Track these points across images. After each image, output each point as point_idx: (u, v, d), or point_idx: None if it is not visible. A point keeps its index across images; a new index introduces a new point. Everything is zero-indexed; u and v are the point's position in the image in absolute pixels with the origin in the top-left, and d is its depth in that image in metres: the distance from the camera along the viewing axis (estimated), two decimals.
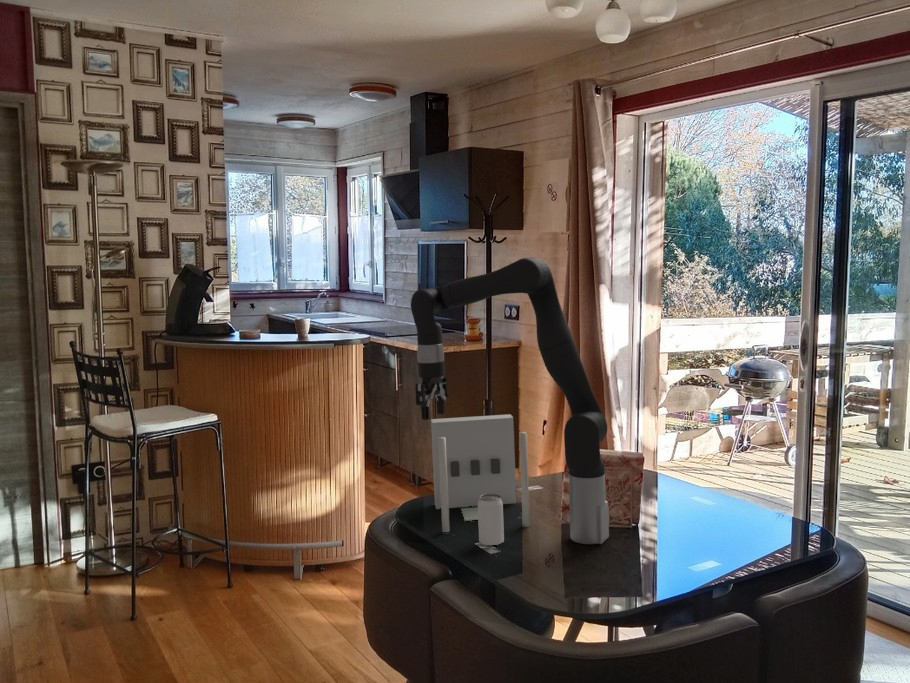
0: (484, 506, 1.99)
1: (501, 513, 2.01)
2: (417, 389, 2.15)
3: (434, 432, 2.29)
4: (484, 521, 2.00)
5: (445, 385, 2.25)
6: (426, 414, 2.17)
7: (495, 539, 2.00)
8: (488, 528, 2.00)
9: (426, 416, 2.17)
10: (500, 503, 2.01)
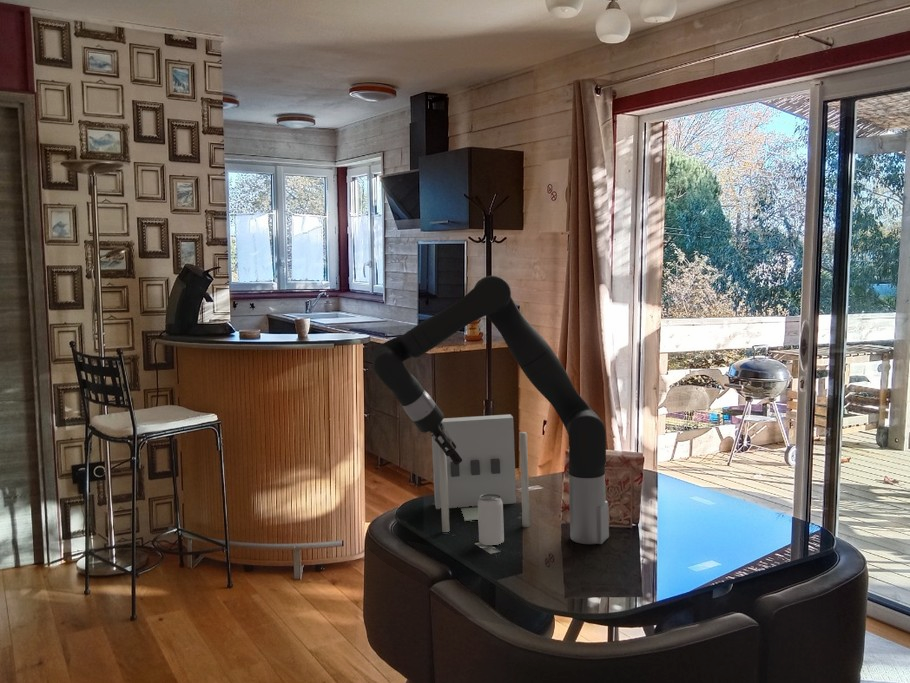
0: (484, 506, 1.99)
1: (501, 513, 2.01)
2: (440, 442, 1.99)
3: None
4: (484, 521, 2.00)
5: None
6: (458, 457, 2.03)
7: (495, 539, 2.00)
8: (488, 528, 2.00)
9: (459, 459, 2.03)
10: (500, 503, 2.01)
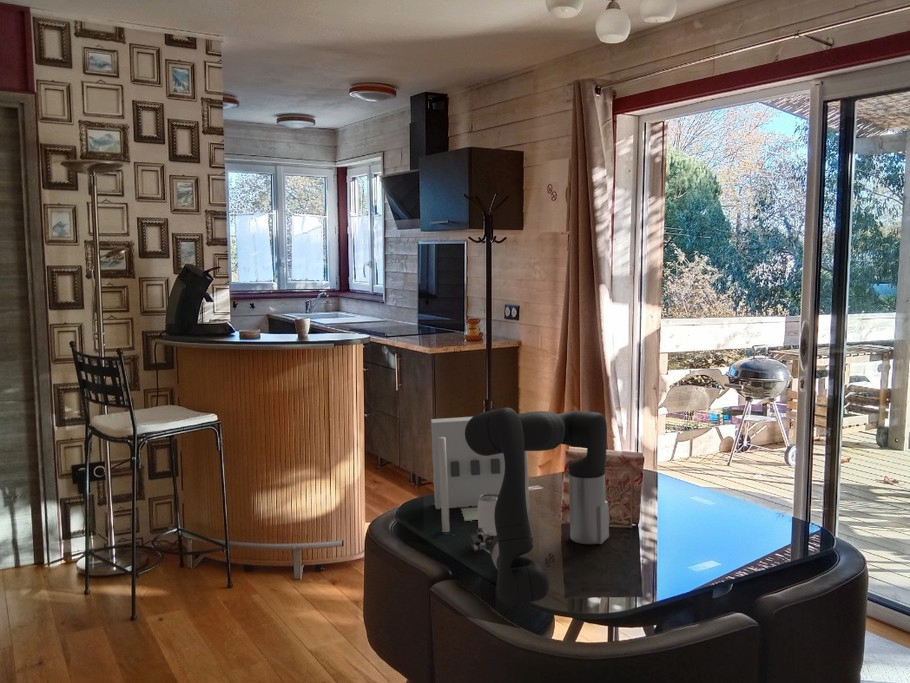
0: (484, 506, 1.99)
1: None
2: None
3: (434, 432, 2.29)
4: (484, 521, 2.00)
5: None
6: None
7: None
8: (488, 528, 2.00)
9: None
10: None
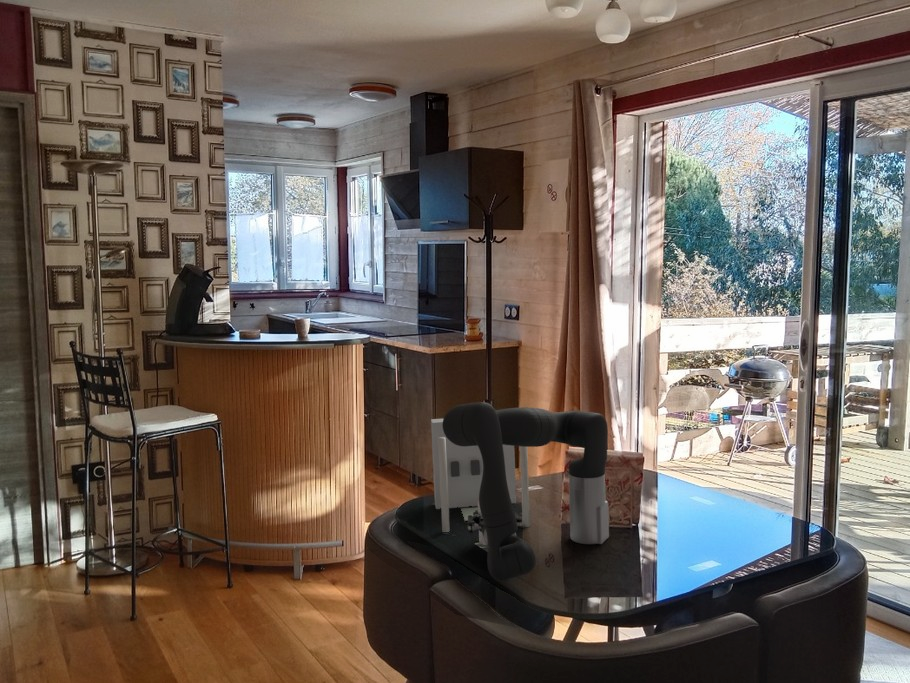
0: None
1: None
2: None
3: (434, 432, 2.29)
4: None
5: None
6: None
7: None
8: None
9: None
10: None
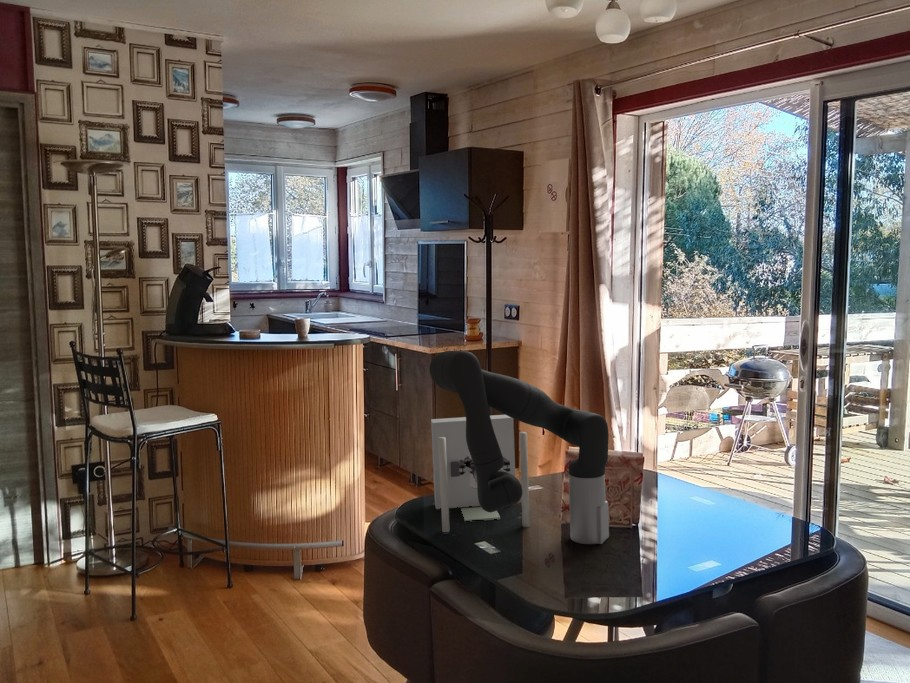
0: None
1: None
2: None
3: (434, 432, 2.29)
4: None
5: (463, 464, 2.09)
6: None
7: None
8: None
9: None
10: None
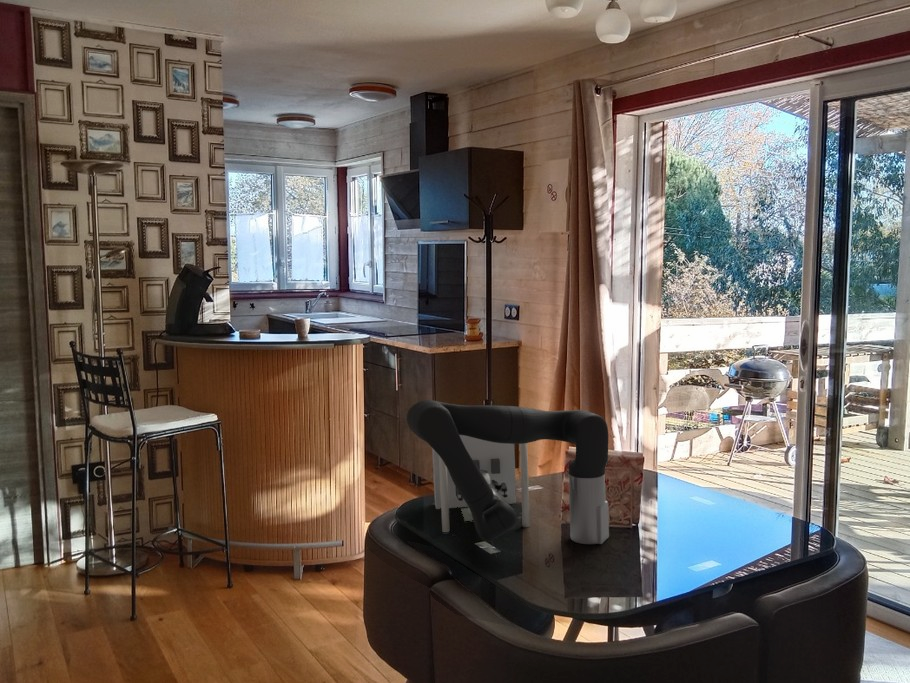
0: None
1: None
2: None
3: None
4: None
5: None
6: (496, 482, 2.25)
7: None
8: None
9: (495, 481, 2.25)
10: (487, 477, 2.22)
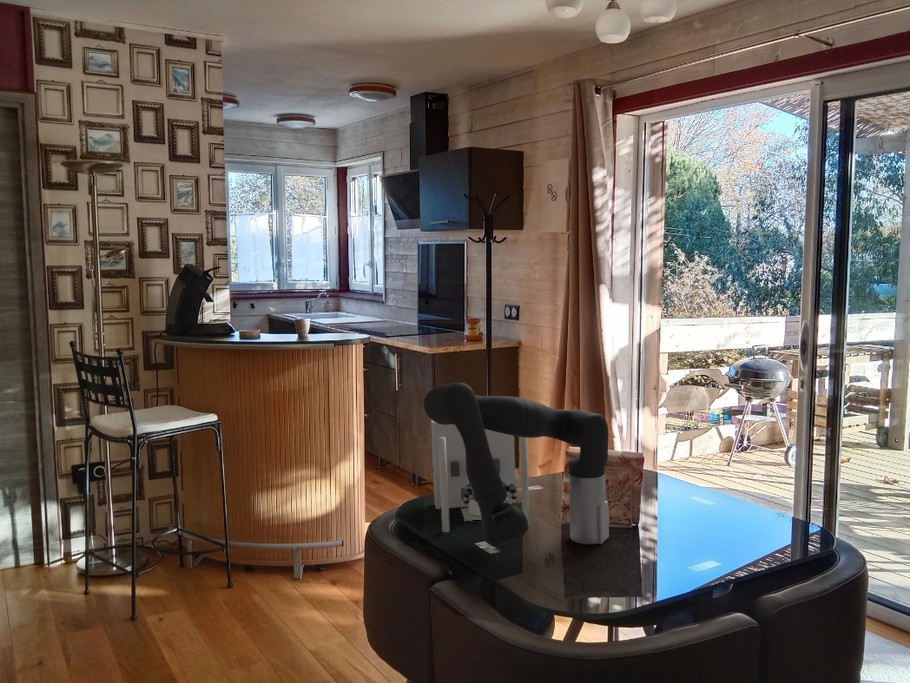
0: None
1: None
2: None
3: (434, 432, 2.29)
4: None
5: None
6: (503, 482, 2.12)
7: None
8: None
9: (503, 482, 2.12)
10: None
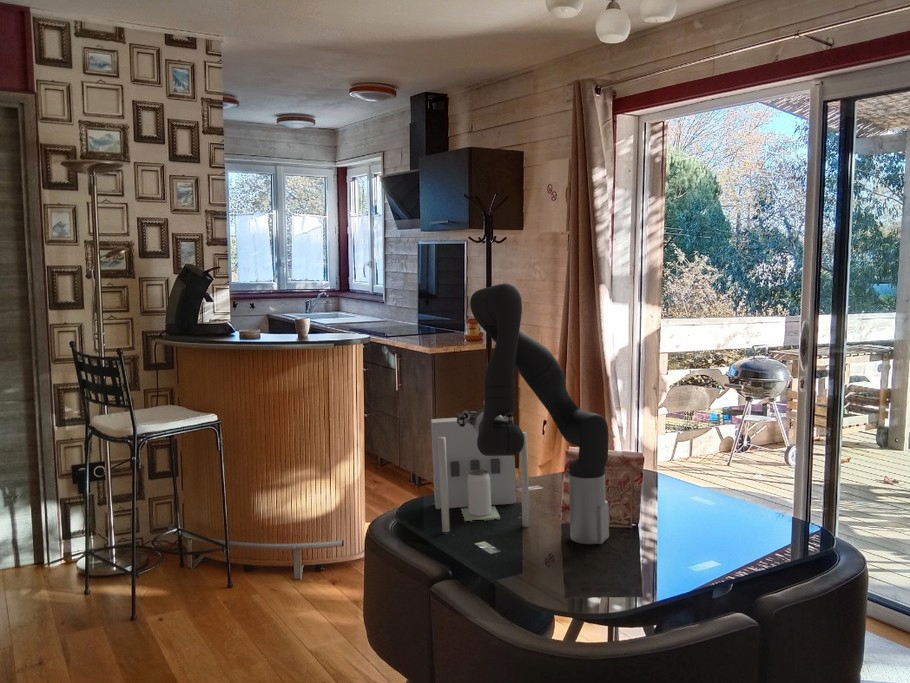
0: (473, 480, 2.21)
1: (488, 486, 2.22)
2: None
3: (434, 432, 2.29)
4: (473, 494, 2.21)
5: (462, 416, 2.02)
6: None
7: (483, 510, 2.22)
8: (476, 500, 2.21)
9: None
10: (488, 477, 2.22)
